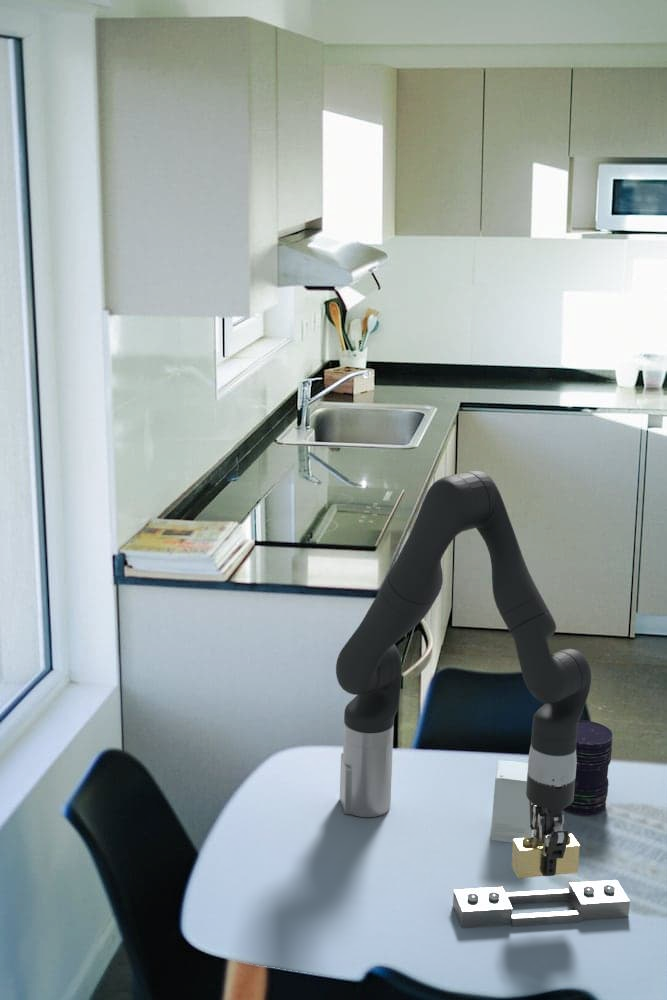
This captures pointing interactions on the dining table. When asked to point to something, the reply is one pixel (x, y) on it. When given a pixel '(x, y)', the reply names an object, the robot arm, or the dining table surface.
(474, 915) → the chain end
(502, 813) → the supplement box
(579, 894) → the chain end
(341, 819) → the dining table surface
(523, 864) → the link
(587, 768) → the dark purple cylinder
